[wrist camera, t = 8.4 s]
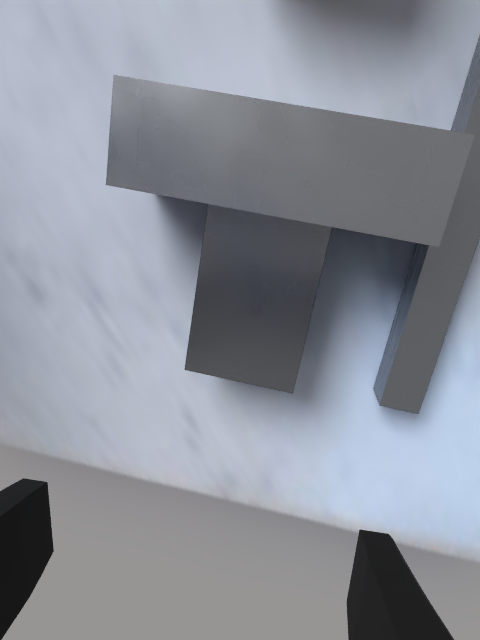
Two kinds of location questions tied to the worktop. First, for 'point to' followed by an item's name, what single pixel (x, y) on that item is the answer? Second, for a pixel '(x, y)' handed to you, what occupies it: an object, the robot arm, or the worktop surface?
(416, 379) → the vise
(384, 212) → the sliding jaw
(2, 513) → the robot arm
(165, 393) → the worktop surface
